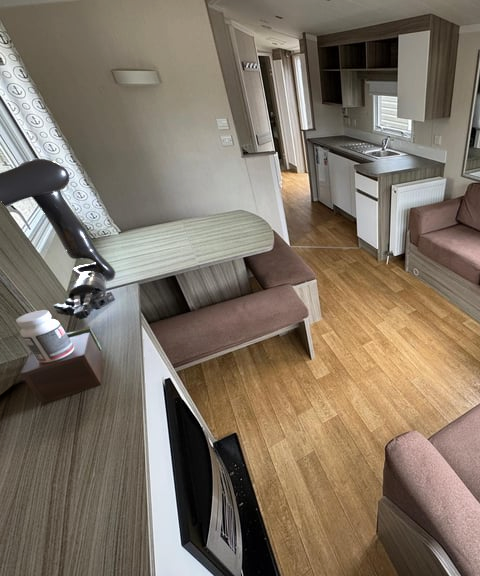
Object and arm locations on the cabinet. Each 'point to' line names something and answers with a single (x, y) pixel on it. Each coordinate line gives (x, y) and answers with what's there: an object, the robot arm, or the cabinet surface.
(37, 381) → the cabinet
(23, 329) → the pill bottle
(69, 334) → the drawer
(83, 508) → the cabinet surface
